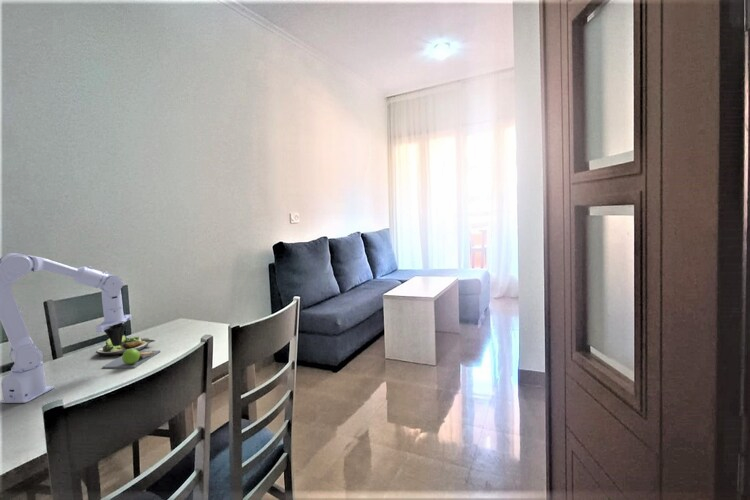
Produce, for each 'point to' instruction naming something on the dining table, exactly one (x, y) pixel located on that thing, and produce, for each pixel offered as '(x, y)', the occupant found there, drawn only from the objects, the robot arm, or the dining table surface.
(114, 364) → the slate mat
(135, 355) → the snail figurine
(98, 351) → the salad plate
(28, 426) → the dining table surface
